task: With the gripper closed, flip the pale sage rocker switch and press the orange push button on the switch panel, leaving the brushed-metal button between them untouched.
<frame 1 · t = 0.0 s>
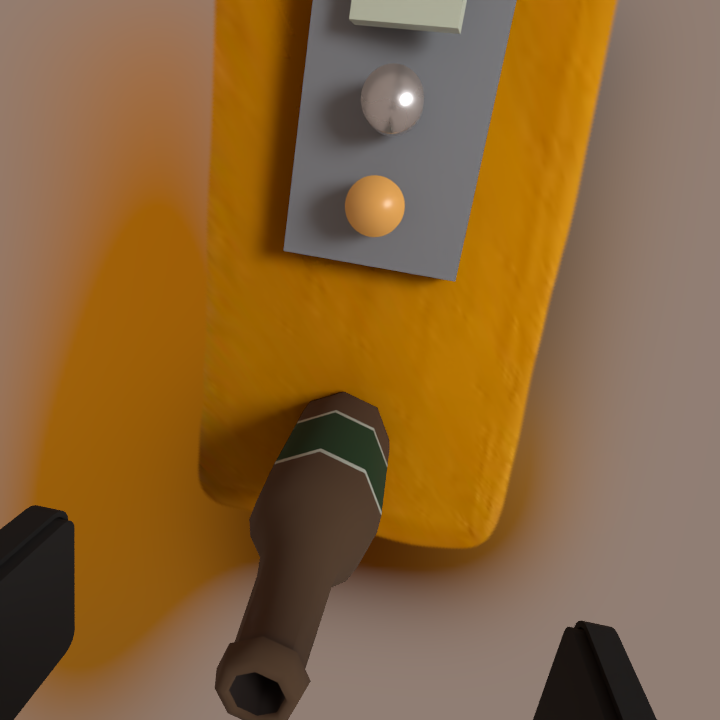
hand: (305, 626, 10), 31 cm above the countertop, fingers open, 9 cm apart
beer bottle: (343, 432, 43), on the countertop
button metal: (392, 101, 31), point 5 cm above the countertop, slide at 0.0 cm
panel: (396, 114, 36), on the countertop
button orange: (375, 206, 33), point 5 cm above the countertop, slide at 0.0 cm
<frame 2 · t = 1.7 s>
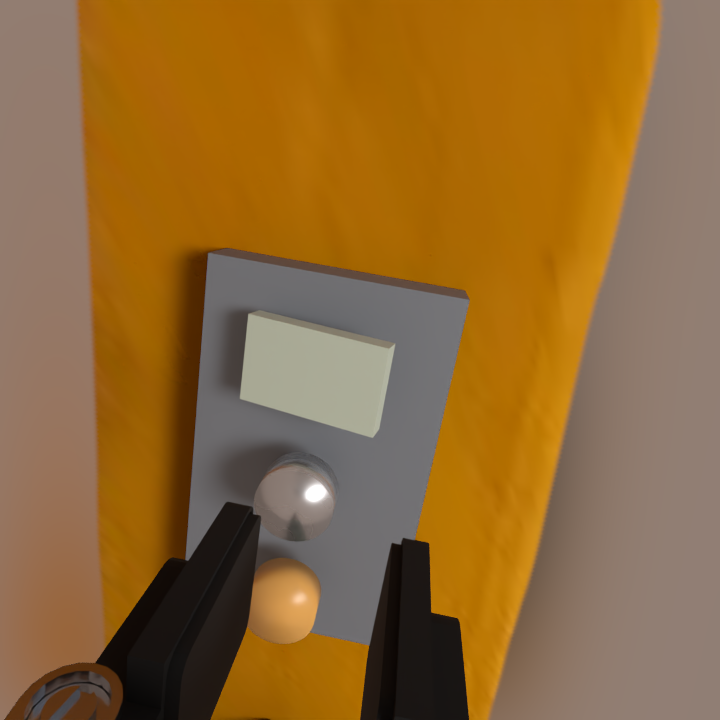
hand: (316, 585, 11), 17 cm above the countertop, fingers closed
button metal: (297, 496, 25), point 5 cm above the countertop, slide at 0.0 cm
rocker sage: (314, 372, 23), point 4 cm above the countertop, hinge at 12.0°
panel: (317, 448, 29), on the countertop
button orange: (282, 600, 26), point 5 cm above the countertop, slide at 0.0 cm
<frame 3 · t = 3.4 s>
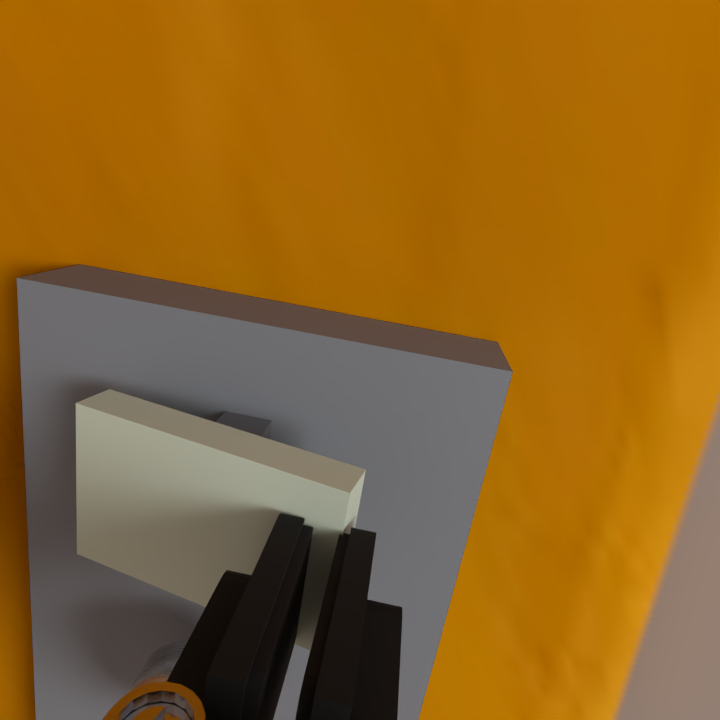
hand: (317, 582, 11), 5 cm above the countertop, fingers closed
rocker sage: (209, 515, 12), point 4 cm above the countertop, hinge at 11.7°, touching gripper
panel: (249, 588, 18), on the countertop
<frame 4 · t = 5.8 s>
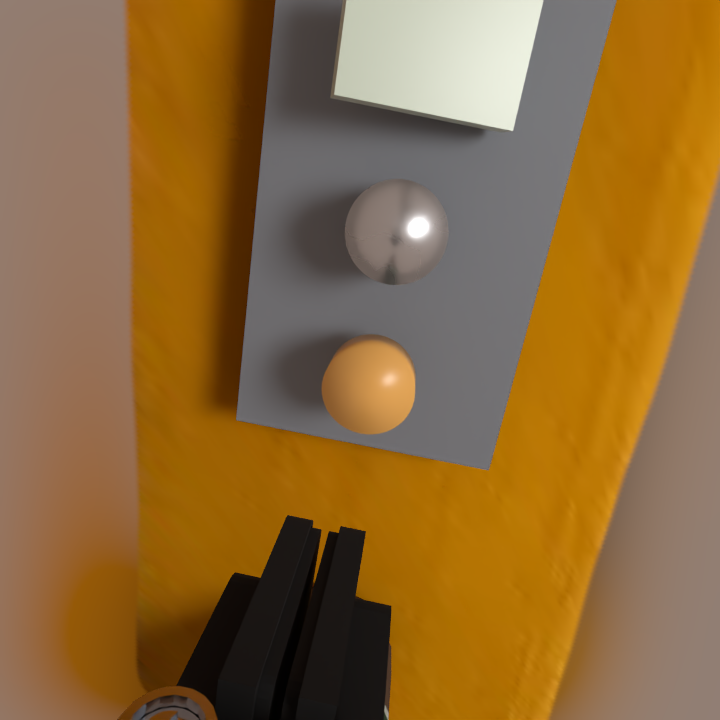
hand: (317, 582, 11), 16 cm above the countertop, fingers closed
beer bottle: (328, 630, 32), on the countertop
button metal: (397, 231, 19), point 5 cm above the countertop, slide at 0.0 cm
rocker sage: (434, 50, 18), point 4 cm above the countertop, hinge at -16.8°
panel: (402, 223, 24), on the countertop
button orange: (370, 383, 21), point 5 cm above the countertop, slide at 0.0 cm
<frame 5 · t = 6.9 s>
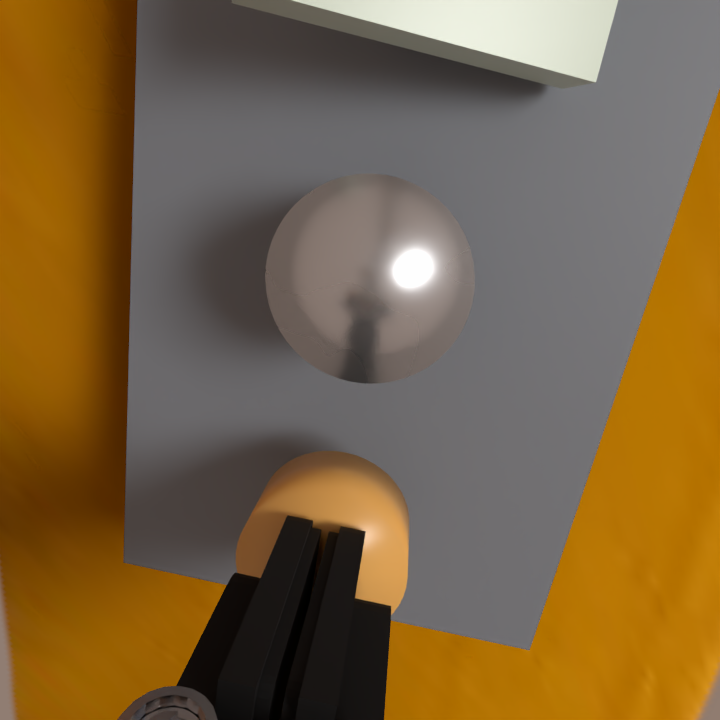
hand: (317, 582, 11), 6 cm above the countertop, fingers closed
button metal: (372, 276, 10), point 5 cm above the countertop, slide at 0.0 cm
panel: (388, 250, 15), on the countertop
button orange: (327, 542, 12), point 5 cm above the countertop, slide at 0.0 cm, touching gripper
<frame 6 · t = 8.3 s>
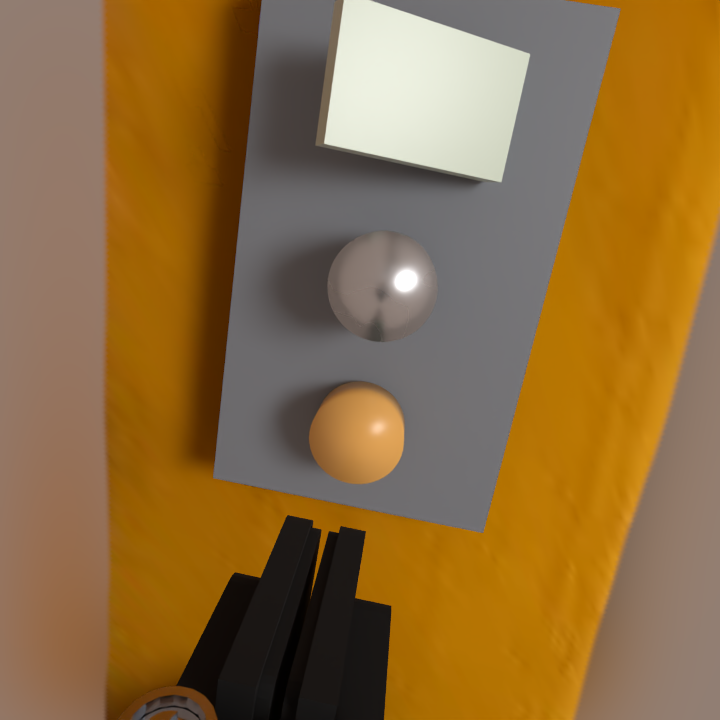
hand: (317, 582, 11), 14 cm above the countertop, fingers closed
button metal: (383, 284, 18), point 5 cm above the countertop, slide at 0.0 cm
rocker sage: (424, 99, 17), point 4 cm above the countertop, hinge at -25.8°
panel: (390, 271, 23), on the countertop
button orange: (358, 431, 21), point 4 cm above the countertop, slide at 1.2 cm
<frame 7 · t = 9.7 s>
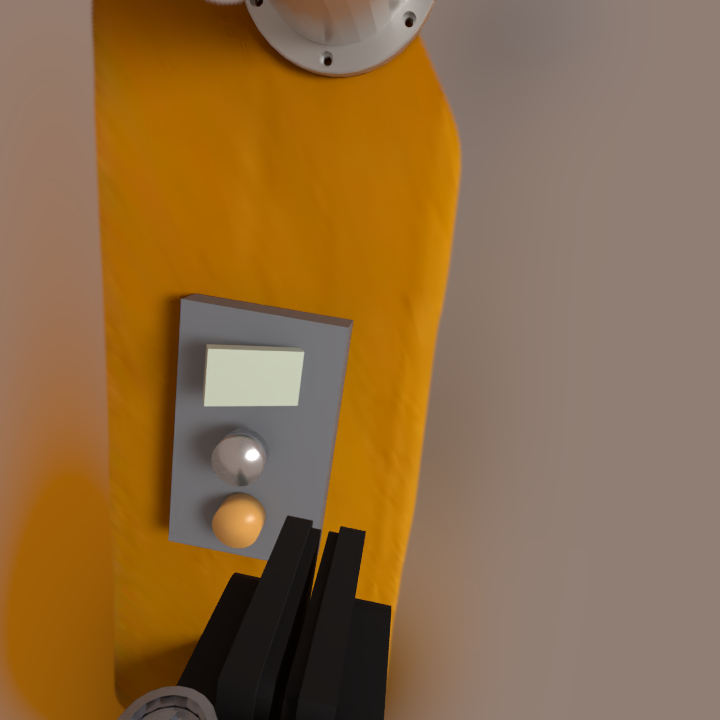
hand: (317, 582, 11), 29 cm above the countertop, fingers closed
button metal: (240, 457, 37), point 5 cm above the countertop, slide at 0.0 cm
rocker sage: (253, 376, 36), point 4 cm above the countertop, hinge at -27.6°
panel: (260, 429, 42), on the countertop
button orange: (239, 520, 40), point 4 cm above the countertop, slide at 1.2 cm
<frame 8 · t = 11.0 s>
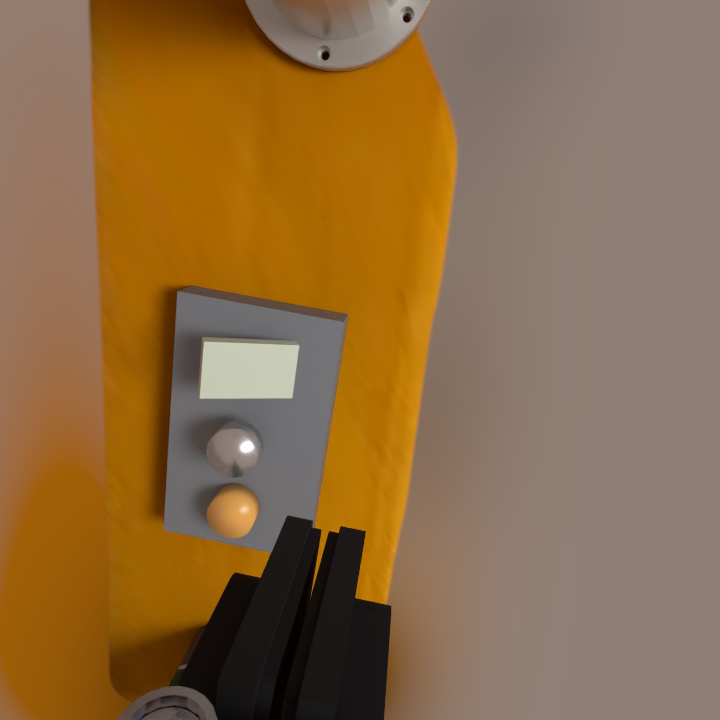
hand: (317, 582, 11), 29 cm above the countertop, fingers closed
beer bottle: (230, 650, 50), on the countertop
button metal: (235, 448, 38), point 5 cm above the countertop, slide at 0.0 cm
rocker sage: (249, 368, 36), point 4 cm above the countertop, hinge at -28.5°, touching panel
panel: (255, 421, 43), on the countertop
button orange: (233, 511, 41), point 4 cm above the countertop, slide at 1.2 cm
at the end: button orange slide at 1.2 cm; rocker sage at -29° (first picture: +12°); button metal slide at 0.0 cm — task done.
